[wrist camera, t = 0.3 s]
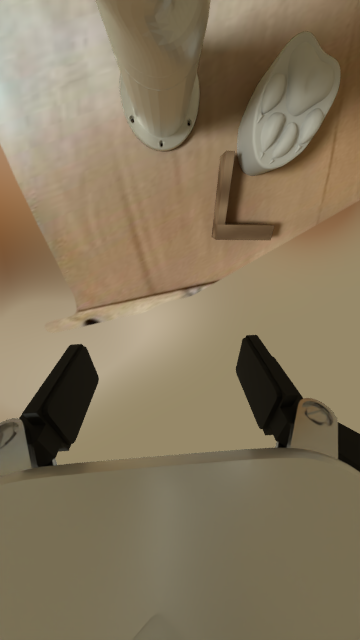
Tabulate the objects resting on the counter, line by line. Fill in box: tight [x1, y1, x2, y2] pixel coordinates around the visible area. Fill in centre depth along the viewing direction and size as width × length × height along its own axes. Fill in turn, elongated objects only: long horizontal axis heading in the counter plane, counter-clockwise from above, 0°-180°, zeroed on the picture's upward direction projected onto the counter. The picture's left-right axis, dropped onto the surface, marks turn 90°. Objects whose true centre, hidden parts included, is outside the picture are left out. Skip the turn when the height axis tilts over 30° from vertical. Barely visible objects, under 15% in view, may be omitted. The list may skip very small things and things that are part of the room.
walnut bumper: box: [212, 151, 274, 240], centre depth 35 cm, size 14×12×4 cm
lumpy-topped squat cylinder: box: [237, 31, 340, 176], centre depth 28 cm, size 10×13×9 cm
